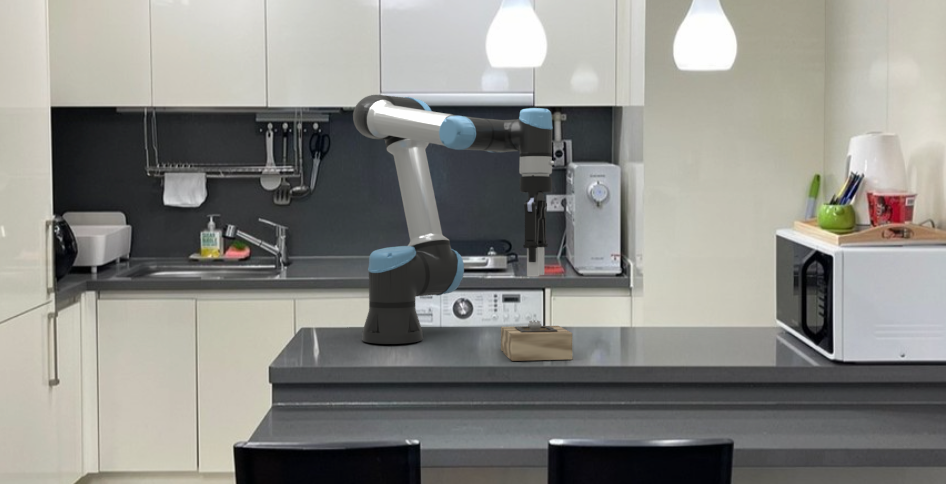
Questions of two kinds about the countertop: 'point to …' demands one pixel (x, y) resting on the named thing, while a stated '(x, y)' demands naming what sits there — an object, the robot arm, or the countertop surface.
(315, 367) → the countertop surface
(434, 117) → the robot arm
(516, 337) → the socket block
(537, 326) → the rook chess piece
